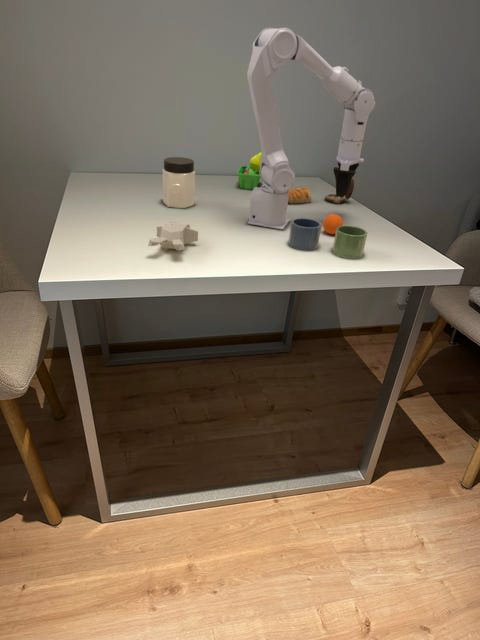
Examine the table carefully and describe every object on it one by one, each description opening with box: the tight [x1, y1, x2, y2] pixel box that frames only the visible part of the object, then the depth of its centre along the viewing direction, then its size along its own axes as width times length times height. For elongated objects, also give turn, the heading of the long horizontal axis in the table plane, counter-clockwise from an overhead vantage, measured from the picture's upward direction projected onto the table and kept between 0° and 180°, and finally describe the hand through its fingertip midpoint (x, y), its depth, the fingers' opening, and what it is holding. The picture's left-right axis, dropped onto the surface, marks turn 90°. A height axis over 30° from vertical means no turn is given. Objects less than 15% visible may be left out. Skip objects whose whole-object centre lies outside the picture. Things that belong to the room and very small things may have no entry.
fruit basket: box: [236, 150, 262, 190], centre depth 152 cm, size 11×9×11 cm
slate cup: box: [288, 217, 323, 252], centre depth 111 cm, size 7×7×6 cm
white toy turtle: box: [147, 221, 199, 252], centre depth 104 cm, size 10×5×15 cm
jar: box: [162, 156, 196, 209], centre depth 129 cm, size 9×8×12 cm
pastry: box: [288, 187, 312, 205], centre depth 142 cm, size 9×7×4 cm
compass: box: [324, 178, 355, 204], centre depth 144 cm, size 8×8×7 cm
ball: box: [322, 213, 344, 235], centre depth 119 cm, size 5×5×5 cm
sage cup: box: [332, 224, 368, 260], centre depth 108 cm, size 7×7×6 cm
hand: (341, 192), depth 126 cm, fingers open, 7 cm apart
